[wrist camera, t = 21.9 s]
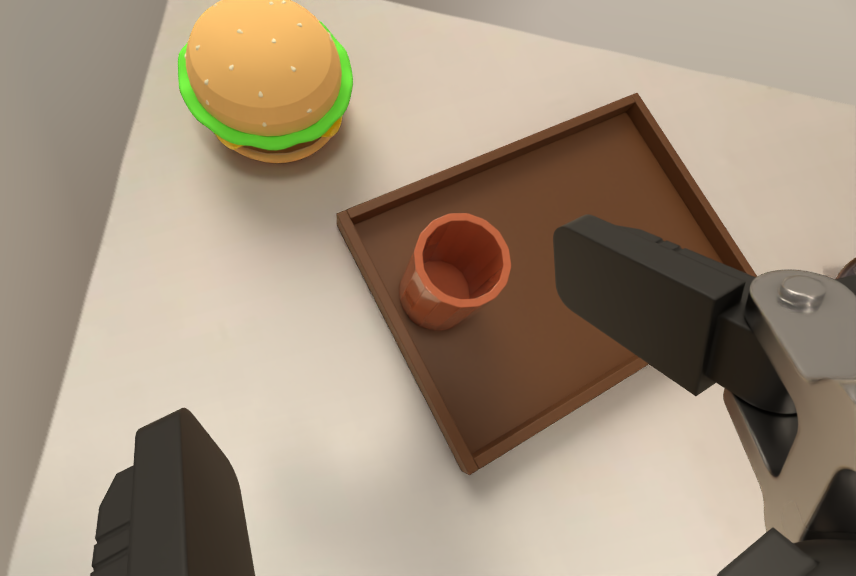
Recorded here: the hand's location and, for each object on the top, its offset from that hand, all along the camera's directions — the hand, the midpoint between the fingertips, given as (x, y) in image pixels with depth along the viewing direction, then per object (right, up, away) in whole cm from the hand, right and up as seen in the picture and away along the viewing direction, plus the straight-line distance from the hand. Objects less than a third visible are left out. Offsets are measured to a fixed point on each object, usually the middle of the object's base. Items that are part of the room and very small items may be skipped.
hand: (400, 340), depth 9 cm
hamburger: (-12, +15, +28) cm, 34 cm away
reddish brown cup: (+1, +1, +26) cm, 26 cm away
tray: (+11, +3, +29) cm, 31 cm away
